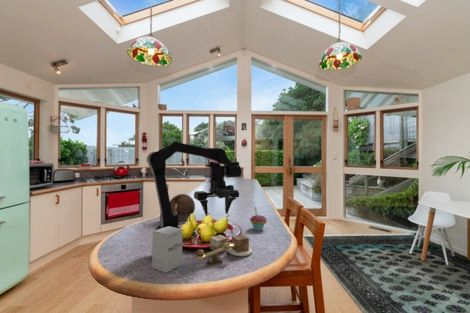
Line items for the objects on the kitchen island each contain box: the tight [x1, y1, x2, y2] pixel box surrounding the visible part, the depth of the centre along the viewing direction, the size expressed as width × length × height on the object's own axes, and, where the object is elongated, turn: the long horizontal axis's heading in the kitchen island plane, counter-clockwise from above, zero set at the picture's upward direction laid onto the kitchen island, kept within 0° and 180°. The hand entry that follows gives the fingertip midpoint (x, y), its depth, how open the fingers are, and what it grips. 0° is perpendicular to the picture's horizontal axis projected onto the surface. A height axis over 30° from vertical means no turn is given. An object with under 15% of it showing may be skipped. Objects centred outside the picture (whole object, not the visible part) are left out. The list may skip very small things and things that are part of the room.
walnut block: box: [231, 233, 250, 253], centre depth 99 cm, size 5×5×5 cm
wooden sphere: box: [170, 193, 196, 221], centre depth 146 cm, size 15×15×15 cm
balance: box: [193, 241, 235, 266], centre depth 90 cm, size 16×4×6 cm, turn 118°
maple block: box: [209, 234, 229, 254], centre depth 102 cm, size 5×5×5 cm
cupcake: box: [249, 206, 268, 231], centre depth 131 cm, size 9×8×12 cm
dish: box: [227, 246, 253, 257], centre depth 99 cm, size 10×10×1 cm
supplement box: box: [151, 226, 184, 273], centre depth 86 cm, size 7×7×13 cm
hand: (216, 214), depth 107 cm, fingers open, 9 cm apart
